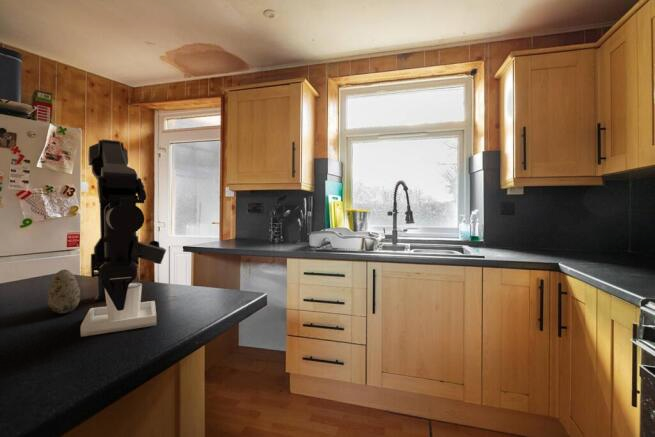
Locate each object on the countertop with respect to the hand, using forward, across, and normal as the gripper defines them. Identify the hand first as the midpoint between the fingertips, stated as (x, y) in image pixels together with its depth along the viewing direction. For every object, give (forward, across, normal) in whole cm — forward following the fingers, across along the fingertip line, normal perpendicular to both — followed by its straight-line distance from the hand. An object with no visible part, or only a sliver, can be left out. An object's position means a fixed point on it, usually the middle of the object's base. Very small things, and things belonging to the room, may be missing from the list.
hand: (121, 304), depth 71 cm
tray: (+4, 0, 0) cm, 4 cm away
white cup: (+3, 0, 0) cm, 3 cm away
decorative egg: (+4, +13, +12) cm, 18 cm away
